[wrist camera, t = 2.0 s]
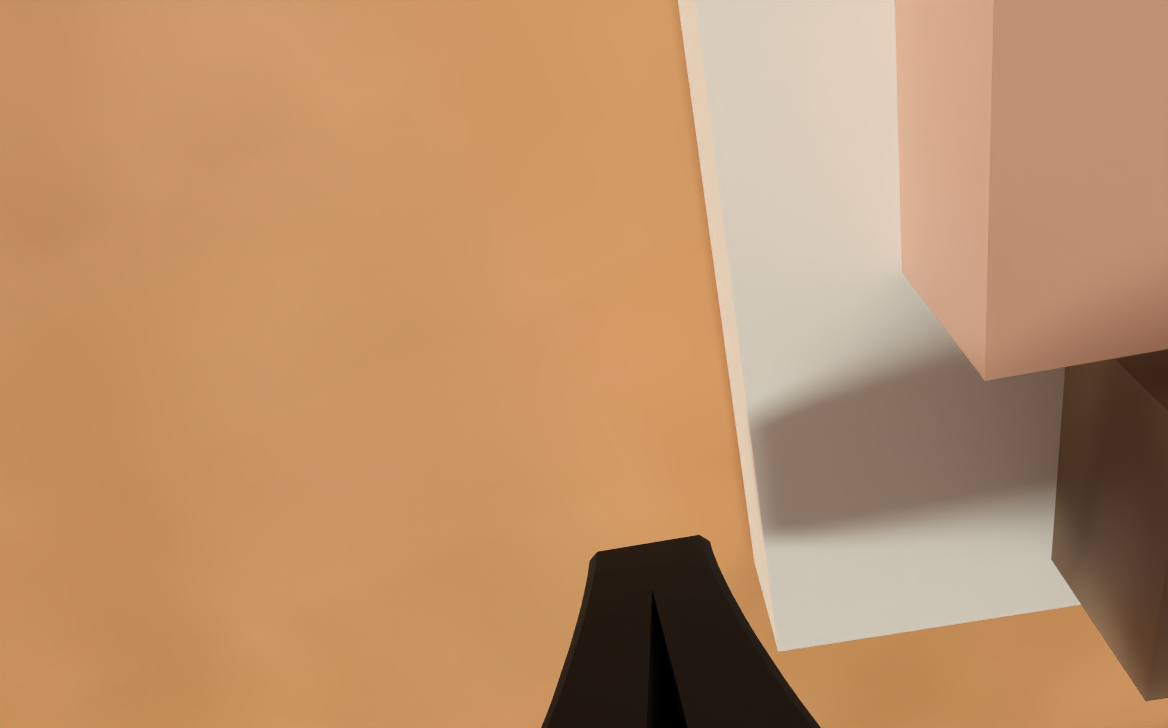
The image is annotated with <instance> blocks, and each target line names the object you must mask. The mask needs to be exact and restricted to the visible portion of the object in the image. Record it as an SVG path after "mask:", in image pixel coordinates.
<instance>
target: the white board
mask: <svg viewBox="0 0 1168 728" xmlns="http://www.w3.org/2000/svg"><path fill="white" fill-rule="evenodd" d="M678 5H679V13H680V20H681V27H682V35H683V42H684V49H685V57H686V64H687V71H688V78H689V86H690V93H691V100H692V108H693V115H694V122H695V130H696V137H697V144H698V152H699V159H700V166H701V174H702V181H703V188H704V196H705V203H706V210H707V218H708V225H709V232H710V240H711V247H712V254H713V262H714V269H715V276H716V284H717V291H718V298H719V306H720V313H721V320H722V328H723V335H724V342H725V350H726V357H727V364H728V372H729V379H730V386H731V394H732V401H733V408H734V416H735V423H736V430H737V438H738V445H739V452H740V460H741V467H742V474H743V482H744V489H745V496H746V504H747V511H748V518H749V526H750V533H751V540H752V548H753V555H754V562H755V566H756V569H757V573H758V577H759V581H760V585H761V588H762V592H763V596H764V600H765V603H766V607H767V611H768V615H769V618H770V622H771V626H772V630H773V633H774V637H775V641H776V645H777V648H778V652H780V651H786V650H792V649H799V648H805V647H812V646H818V645H825V644H831V643H837V642H844V641H850V640H857V639H863V638H870V637H876V636H882V635H889V634H895V633H902V632H908V631H915V630H921V629H927V628H934V627H940V626H947V625H953V624H960V623H966V622H972V621H979V620H985V619H992V618H998V617H1005V616H1011V615H1018V614H1024V613H1030V612H1037V611H1043V610H1050V609H1056V608H1063V607H1069V606H1075V605H1081V603H1080V602H1079V600H1078V599H1077V597H1076V596H1075V594H1074V593H1073V591H1072V590H1071V588H1070V587H1069V585H1068V584H1067V583H1066V581H1065V580H1064V578H1063V577H1062V575H1061V574H1060V572H1059V571H1058V569H1057V568H1056V566H1055V565H1054V563H1053V562H1052V560H1051V555H1052V541H1053V528H1054V514H1055V500H1056V486H1057V473H1058V459H1059V445H1060V431H1061V418H1062V404H1063V390H1064V376H1065V367H1062V368H1056V369H1051V370H1045V371H1039V372H1033V373H1028V374H1022V375H1016V376H1010V377H1005V378H999V379H993V380H987V381H984V379H983V378H982V377H981V375H980V374H979V373H978V371H977V370H976V369H975V367H974V366H973V365H972V363H971V362H970V361H969V359H968V358H967V357H966V356H965V354H964V353H963V352H962V350H961V349H960V348H959V346H958V345H957V344H956V342H955V341H954V340H953V338H952V337H951V336H950V335H949V333H948V332H947V331H946V329H945V328H944V327H943V325H942V324H941V323H940V321H939V320H938V319H937V317H936V316H935V315H934V313H933V312H932V311H931V310H930V308H929V307H928V306H927V304H926V303H925V302H924V300H923V299H922V298H921V296H920V295H919V294H918V292H917V291H916V290H915V289H914V287H913V286H912V285H911V283H910V282H909V281H908V279H907V278H906V277H905V275H904V274H903V273H902V259H901V222H900V185H899V148H898V110H897V73H896V36H895V0H678Z"/></svg>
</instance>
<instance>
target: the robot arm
mask: <svg viewBox="0 0 1168 728" xmlns="http://www.w3.org/2000/svg"><path fill="white" fill-rule="evenodd" d="M541 728H820V726H819V725H818V724H817V722H816V721H815V720H814V718H813V717H812V716H811V714H810V713H809V712H808V710H807V709H806V708H805V706H804V705H803V704H802V702H801V701H800V700H799V698H798V697H797V695H796V694H795V693H794V691H793V690H792V688H791V687H790V686H789V684H788V683H787V681H786V680H785V679H784V677H783V676H782V674H781V673H780V671H779V670H778V668H777V667H776V665H775V664H774V662H773V661H772V659H771V657H770V656H769V654H768V653H767V651H766V650H765V648H764V647H763V645H762V644H761V642H760V641H759V639H758V638H757V636H756V635H755V633H754V631H753V630H752V628H751V626H750V625H749V623H748V621H747V620H746V618H745V616H744V615H743V613H742V611H741V609H740V607H739V606H738V604H737V602H736V600H735V598H734V597H733V595H732V593H731V591H730V589H729V587H728V585H727V583H726V581H725V579H724V577H723V575H722V573H721V571H720V568H719V566H718V564H717V561H716V559H715V556H714V554H713V551H712V548H711V544H710V541H708V540H707V539H705V538H703V537H702V536H700V535H696V536H690V537H684V538H678V539H672V540H666V541H660V542H654V543H648V544H641V545H635V546H629V547H623V548H617V549H611V550H605V551H599V552H597V553H596V554H595V555H594V556H593V557H592V559H591V560H590V563H589V570H588V577H587V582H586V587H585V592H584V596H583V601H582V605H581V609H580V613H579V617H578V620H577V624H576V627H575V631H574V634H573V638H572V641H571V645H570V648H569V651H568V654H567V657H566V660H565V663H564V666H563V669H562V672H561V675H560V678H559V681H558V684H557V687H556V690H555V693H554V696H553V699H552V701H551V704H550V707H549V710H548V712H547V715H546V717H545V720H544V722H543V725H542V727H541Z"/></svg>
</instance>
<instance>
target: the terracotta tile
mask: <svg viewBox="0 0 1168 728" xmlns="http://www.w3.org/2000/svg"><path fill="white" fill-rule="evenodd" d="M895 36H896V73H897V110H898V148H899V185H900V222H901V259H902V273H903V274H904V275H905V277H906V278H907V279H908V281H909V282H910V283H911V285H912V286H913V287H914V289H915V290H916V291H917V292H918V294H919V295H920V296H921V298H922V299H923V300H924V302H925V303H926V304H927V306H928V307H929V308H930V310H931V311H932V312H933V313H934V315H935V316H936V317H937V319H938V320H939V321H940V323H941V324H942V325H943V327H944V328H945V329H946V331H947V332H948V333H949V335H950V336H951V337H952V338H953V340H954V341H955V342H956V344H957V345H958V346H959V348H960V349H961V350H962V352H963V353H964V354H965V356H966V357H967V358H968V359H969V361H970V362H971V363H972V365H973V366H974V367H975V369H976V370H977V371H978V373H979V374H980V375H981V377H982V378H983V379H984V381H987V380H993V379H999V378H1005V377H1010V376H1016V375H1022V374H1028V373H1033V372H1039V371H1045V370H1051V369H1056V368H1062V367H1068V366H1074V365H1079V364H1085V363H1091V362H1097V361H1102V360H1108V359H1114V358H1120V357H1125V356H1131V355H1137V354H1143V353H1148V352H1154V351H1160V350H1166V349H1168V0H895Z"/></svg>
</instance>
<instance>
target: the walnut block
mask: <svg viewBox="0 0 1168 728" xmlns="http://www.w3.org/2000/svg"><path fill="white" fill-rule="evenodd" d="M1051 560H1052V562H1053V563H1054V565H1055V566H1056V568H1057V569H1058V571H1059V572H1060V574H1061V575H1062V577H1063V578H1064V580H1065V581H1066V583H1067V584H1068V585H1069V587H1070V588H1071V590H1072V591H1073V593H1074V594H1075V596H1076V597H1077V599H1078V600H1079V602H1080V603H1081V605H1082V606H1083V608H1084V609H1085V611H1086V612H1087V614H1088V615H1089V617H1090V618H1091V620H1092V621H1093V623H1094V624H1095V626H1096V627H1097V629H1098V630H1099V632H1100V633H1101V635H1102V636H1103V638H1104V639H1105V641H1106V642H1107V644H1108V645H1109V647H1110V648H1111V650H1112V651H1113V653H1114V654H1115V656H1116V657H1117V659H1118V660H1119V662H1120V663H1121V665H1122V666H1123V668H1124V669H1125V671H1126V672H1127V674H1128V675H1129V677H1130V678H1131V680H1132V681H1133V683H1134V684H1135V686H1136V687H1137V689H1138V690H1139V692H1140V693H1141V695H1142V696H1143V698H1144V699H1145V701H1150V700H1157V699H1164V698H1168V349H1166V350H1160V351H1154V352H1148V353H1143V354H1137V355H1131V356H1125V357H1120V358H1114V359H1108V360H1102V361H1097V362H1091V363H1085V364H1079V365H1074V366H1068V367H1065V376H1064V390H1063V404H1062V418H1061V431H1060V445H1059V459H1058V473H1057V486H1056V500H1055V514H1054V528H1053V541H1052V555H1051Z"/></svg>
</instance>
